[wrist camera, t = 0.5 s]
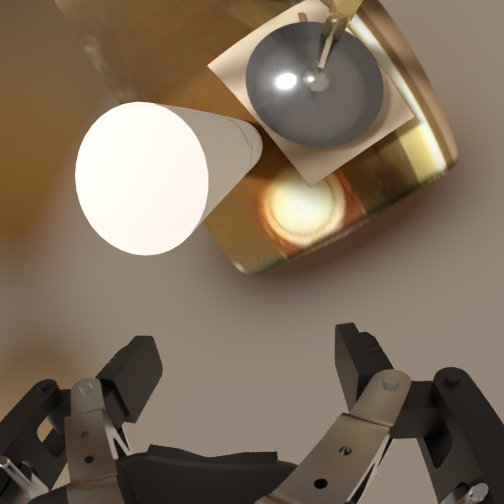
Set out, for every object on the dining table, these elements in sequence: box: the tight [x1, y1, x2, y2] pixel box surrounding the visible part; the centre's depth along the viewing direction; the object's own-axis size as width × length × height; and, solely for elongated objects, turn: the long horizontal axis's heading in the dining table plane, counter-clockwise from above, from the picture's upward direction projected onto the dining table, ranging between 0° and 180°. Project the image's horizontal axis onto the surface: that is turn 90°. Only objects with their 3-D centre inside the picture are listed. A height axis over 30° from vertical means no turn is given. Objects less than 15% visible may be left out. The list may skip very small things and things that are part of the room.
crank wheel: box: [245, 0, 384, 147], centre depth 21 cm, size 16×16×12 cm
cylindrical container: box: [75, 102, 263, 255], centre depth 22 cm, size 7×7×25 cm
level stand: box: [208, 0, 414, 187], centre depth 28 cm, size 20×17×2 cm
